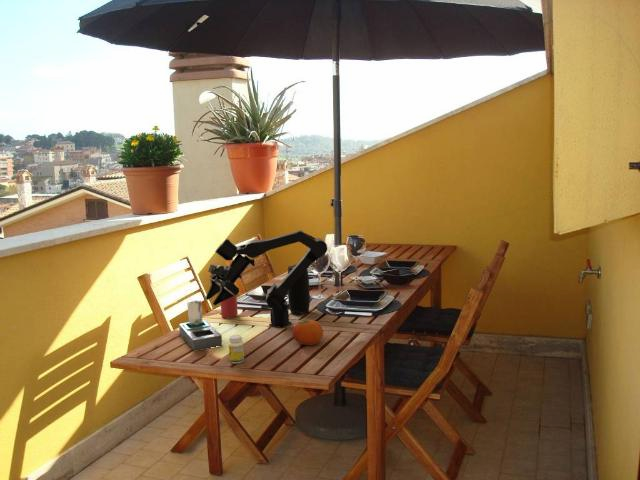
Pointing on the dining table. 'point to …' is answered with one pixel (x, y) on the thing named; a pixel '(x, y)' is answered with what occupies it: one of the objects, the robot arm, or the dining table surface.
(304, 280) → the portable speaker
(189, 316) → the steel sleeve
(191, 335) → the jig plate
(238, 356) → the supplement bottle
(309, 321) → the fruit
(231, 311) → the beer can
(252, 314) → the dining table surface
